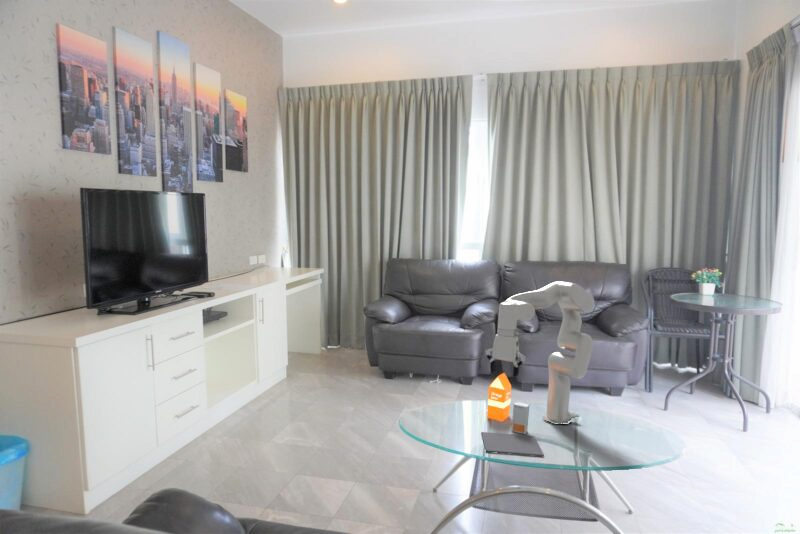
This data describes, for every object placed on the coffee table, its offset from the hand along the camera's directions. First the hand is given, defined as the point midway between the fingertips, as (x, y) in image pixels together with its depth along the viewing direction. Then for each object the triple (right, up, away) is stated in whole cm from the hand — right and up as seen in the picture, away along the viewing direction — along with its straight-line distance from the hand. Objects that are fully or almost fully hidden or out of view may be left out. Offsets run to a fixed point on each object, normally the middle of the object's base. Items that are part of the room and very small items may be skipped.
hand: (503, 373), depth 206 cm
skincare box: (+9, -27, +9) cm, 30 cm away
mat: (+2, -27, -5) cm, 28 cm away
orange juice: (+3, -26, +26) cm, 36 cm away
